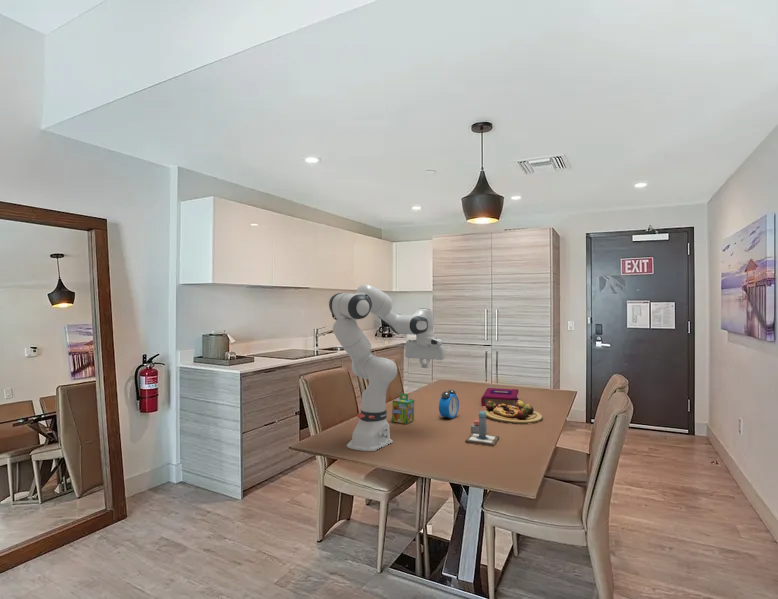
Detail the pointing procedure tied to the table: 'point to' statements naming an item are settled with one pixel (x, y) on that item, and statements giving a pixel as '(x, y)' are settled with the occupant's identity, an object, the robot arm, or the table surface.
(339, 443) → the table surface
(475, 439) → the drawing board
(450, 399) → the alarm clock
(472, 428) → the button box
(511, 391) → the book
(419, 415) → the table surface
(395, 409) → the chalk box
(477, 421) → the button
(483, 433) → the joystick
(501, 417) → the wooden plate with food
